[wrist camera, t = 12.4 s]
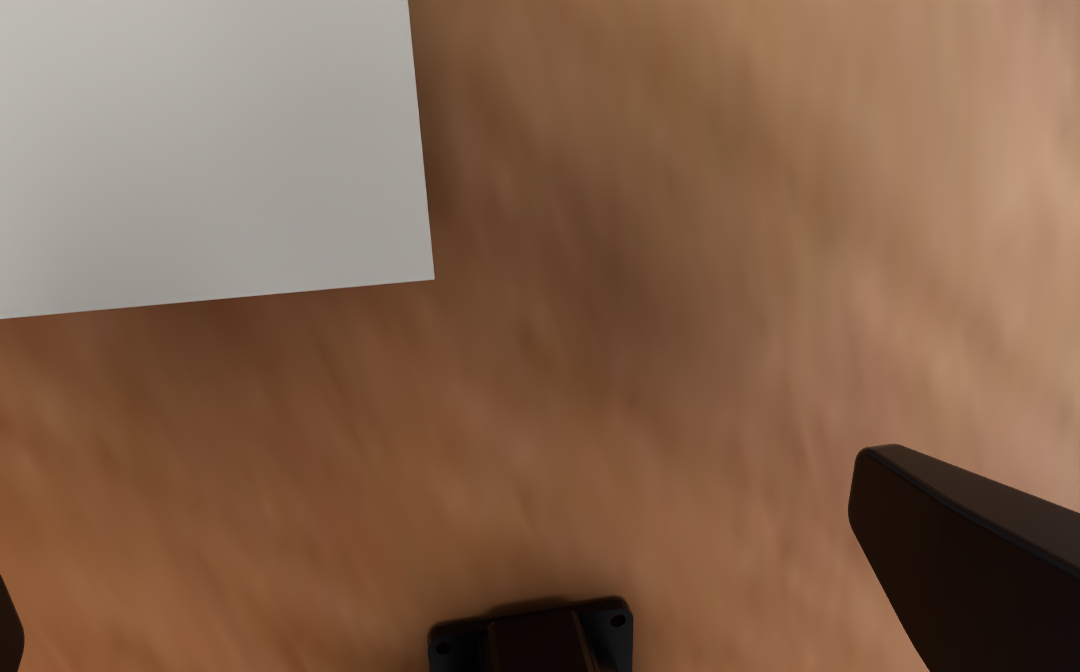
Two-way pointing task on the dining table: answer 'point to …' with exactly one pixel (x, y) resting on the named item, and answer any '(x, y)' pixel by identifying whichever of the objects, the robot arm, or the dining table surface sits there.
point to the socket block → (206, 151)
